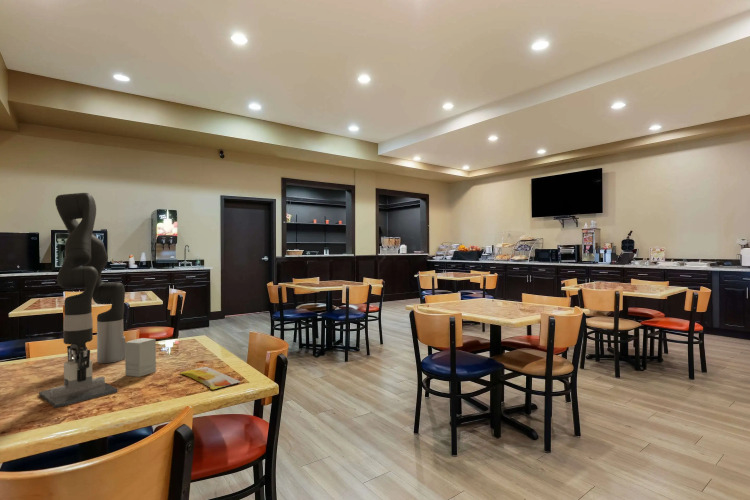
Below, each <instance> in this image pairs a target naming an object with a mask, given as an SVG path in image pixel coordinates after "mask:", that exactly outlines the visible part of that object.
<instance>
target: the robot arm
mask: <svg viewBox="0 0 750 500" xmlns="http://www.w3.org/2000/svg"><path fill="white" fill-rule="evenodd" d="M54 202H55V207H56V211H57V212H58V214H59V217H60V219H61V221H62V223H63V224H64V226H65V228H66V230H67V232H68V236H67V238H66V241H65V245H64V259H63V262H62V265H61V267H60V268H59V271H58V273H57V275H56V282H57V285H58V286H59V287H61V288H62V289H66V290H67V289H69V290H70V289H84V290H83V291H81V293H79V294H73V295H70V296H67V297H66V298H65V299H64V308H63V309H64V314H63V315H64V317H63V331H62V332H63V344H65V345H67V347H66V349H67V362H68V361H74V363H75V364H77V381H78V382H82V381H85V380H86V369H87V368H89V361H90V360H91V358H90V357H91V350H90V349H88V347H87V343H89V342H91V341H93V340H94V339H93V338H94V337H93V336H94V335H93V332H94V331H93V328H94V327H93V326H94V325H93V322H94V321H93V314H92V313H93V310H92V307H93V305H92V304H93V303H92V301H93V302H94V303H95V304H97V305H111V307H110V309H108V310H106V311H104V312H100V313H98V314H97V316H96V354H97V355H96V361H97V363H99V364H109V363H115V362H119V361H122V360H125V342H126V336H124V314H125V299H126V298H125V297H126V290H125V286H124V284H123V283H122V282H104V281H103V280H102V275H101V274H102V272H103V271H104V268H105V267H106V265H107V264H108V259H109V256H108V253H107V249H106V247H105V245H104V243H103V241H102V240H101V239H100V238H98V237H97V236H96V235H94V234H93V232H94V231H93V230H94V228H95V221H96V216H97V203H96V200H95V198H94V196H93V195H92V194H91V193H90V192H89V193H88V192H76V193H63V194H59V195H57V196H55V200H54ZM80 219H81V221H80V222H79V221H78V220H80ZM82 362H84V365H82Z"/></svg>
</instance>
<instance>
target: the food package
mask: <svg viewBox="0 0 750 500" xmlns="http://www.w3.org/2000/svg"><path fill="white" fill-rule="evenodd" d="M180 374H181V375H183V376H186V377H188V378H190V379H193V380H195V381H197V382H199V383H201V384H202V385H205V386H206V387H208V388H209V387H210V388H209V389H210V390H216V389H220V388H224V387H227V386H231V385H235V384H237V383H238V384H239V383H241V381H240V380H238V379H236V378H233V377H231V376H229V375H226V373H225V374H224V373H222V372H220V371H217V370H215V369H213V368H210V367H208V366H204V367H200V368H199V367H198V368H195V369H191V370H187V371H186V370H185V371H181V372H180Z"/></svg>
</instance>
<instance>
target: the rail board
mask: <svg viewBox="0 0 750 500" xmlns="http://www.w3.org/2000/svg"><path fill="white" fill-rule="evenodd" d="M115 393H118V388H117V387H115V386H113V385H111V384H109V383H107V382H106V379H105V376H98V377H94V378H93V377H92V385H89V386H84V387H80V388H76V389H72V390H69V389H68V384H67V385H64V384H63V385H59V386H55V387H50V388H49V389H46V390H42V391H39V392H38V396H40V397H41V398H42V399H44V400H45V401H46V402H47V403H49V404H50V405H51V406H52V407H53V408H55V409H57V408H62V407H65V406H68V405H73V404H77V403H80V402H81V403H82V402H84V401H88V400H92V399H95V398H99V397H103V396H108V395H111V394H115Z"/></svg>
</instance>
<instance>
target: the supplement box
mask: <svg viewBox="0 0 750 500" xmlns="http://www.w3.org/2000/svg"><path fill="white" fill-rule="evenodd" d="M156 341H157V339H156V338H148V337H147V338H145V337H141V338H136V339H131V340H129V341H125V359H124V362H125V363H124V364H125V365H124V366H125V368H124V369H125V370H124V371H125V373H124V374H125V376H129V377H136V378H137V377H139V378H140V377H143V376H144V377H145V376H146V375H150V374H153V373H156V372H157V361H156V359H157V357H156V356H157V350H156V344H157V343H156Z"/></svg>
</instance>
